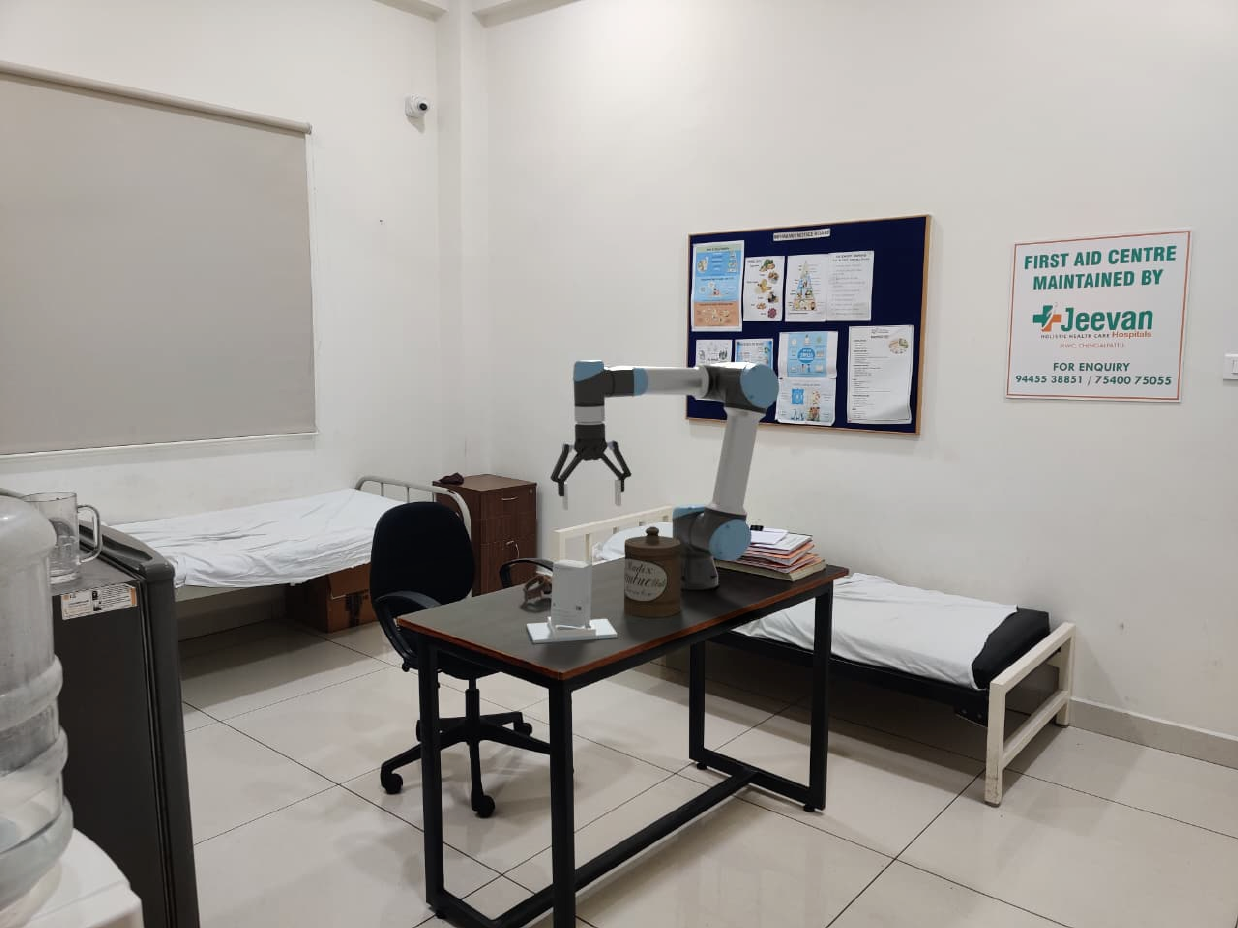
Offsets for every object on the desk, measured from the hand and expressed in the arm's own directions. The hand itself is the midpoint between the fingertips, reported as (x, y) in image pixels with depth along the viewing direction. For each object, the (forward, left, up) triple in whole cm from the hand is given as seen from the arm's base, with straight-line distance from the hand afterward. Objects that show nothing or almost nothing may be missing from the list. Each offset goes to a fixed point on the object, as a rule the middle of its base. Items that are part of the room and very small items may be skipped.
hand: (591, 507), depth 223 cm
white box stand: (+7, +12, -28) cm, 31 cm away
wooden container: (-17, -2, -28) cm, 33 cm away
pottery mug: (+10, -15, -28) cm, 34 cm away
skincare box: (+7, +12, -26) cm, 30 cm away
